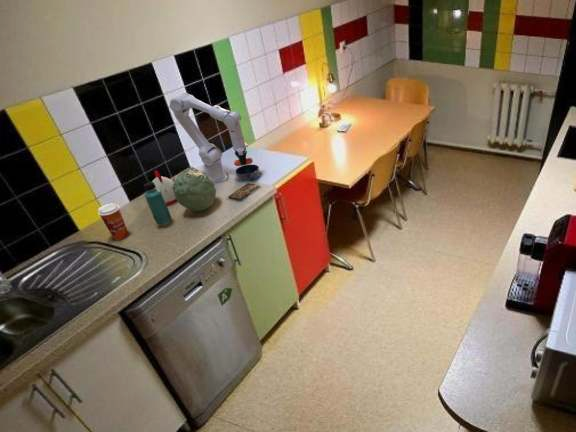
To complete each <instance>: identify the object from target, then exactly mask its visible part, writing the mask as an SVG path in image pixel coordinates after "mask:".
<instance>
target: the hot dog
mask: <svg viewBox="0 0 576 432" xmlns="http://www.w3.org/2000/svg"><path fill="white" fill-rule="evenodd" d="M253 162H254V159H253V158H252V157H246V165H250V164H252V163H253ZM233 164H234V166H235V167H241V166H243V165H242V164H241V163H240V160H239V159H235V160H234V161H233Z"/></svg>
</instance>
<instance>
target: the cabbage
mask: <svg viewBox="0 0 576 432" xmlns="http://www.w3.org/2000/svg"><path fill="white" fill-rule="evenodd" d="M172 181H173V182H174V184H173V187H172V188H173V191H174V195H175V198H176V200H177V201H178V202H177V203H178V204H179V205H180V206H182V207H183V208H185V209H187V210H189V211H191V212H202V211H204V210H206V209H208V208H209V207H211V206H212V204H214V201H215V198H216V195H217V189H216V185H215V182H213V180H212V179H211V178H209V177H208V175H207V176H205V174H204V172H202V171H201V170H199V169H197V168H195V167H194V166H190V167H188V168H185V169H184V170H183V171H180V172H179V174H177V176H174V177H173V178H172Z"/></svg>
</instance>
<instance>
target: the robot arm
mask: <svg viewBox="0 0 576 432" xmlns="http://www.w3.org/2000/svg"><path fill="white" fill-rule="evenodd" d="M169 108H170V110H171V111H172V112H173V115H174V117H175V119H176V120H177V122H178V123H179V125H181V127H182V128H183V129H184V131H185V132H186V133H187V134H188V136H189V138H190V139H191V140H192V141H193V143H194V144H195V146H196V147H197V148H198V150H199V151H198V156H199V158H200V159H201V162H202V163H203V164H202V170H203V174H204V175H205V176H207V175H208V177H209V178H211V179H212V180H213V182H214V183H216V182H220V181H225V180H227V172H225V170H224V166H223V163H222V158H223V152H222V150H221V149H220V148H219V147H217V146H216V145H215V144H214V143H210V142H209V141H208V139H207V138H206V137H205V135H204V134H203V133H202V131H201V130H200V129H199V127H198V126H197V125H196V123H195V122H194V120H193V119H192V118H191V116H190V109H195V110H198V111H202V112H204V113H207V114H209V116H210V117H211V118H212V119H215V120H218V121H220V122H222V123H223V124H224V125H225V126H226V128H227V130H228V133H229V137H230V141H231V144H232V149H233V150H234V156H235V157H236V158H238V159H237V160H240V163H241V164H242V166H244V165H246V158H247V153H248V150H247V147H249V145H248V143H246V142H245V139H244V135H243V130H242V126H241V123H240V122H241V120H242V116H241V114H240V113H239V112H238V111H236V110H231V111H230V110H229V109H225V108H222V107H221V106H220V105H213V106H212V105H210V104H208V103H205V102H203V101H202V100H200V99H197V98H196V97H195V96H194V95H193V94H189V93H188V92H183V93H181V94H179V95H177V96H176V97H173V98H171V99H170V100H169Z"/></svg>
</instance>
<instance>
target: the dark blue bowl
mask: <svg viewBox="0 0 576 432" xmlns="http://www.w3.org/2000/svg"><path fill="white" fill-rule="evenodd" d="M234 174H235V178H236V180H237V181H239V182H251V181H254V180H257V179H258V178H259V177H260V176H261V170H260V166H259V165H257V164H252V163H251V164H247V165H242V166H238V167H236V168H235V170H234Z"/></svg>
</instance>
